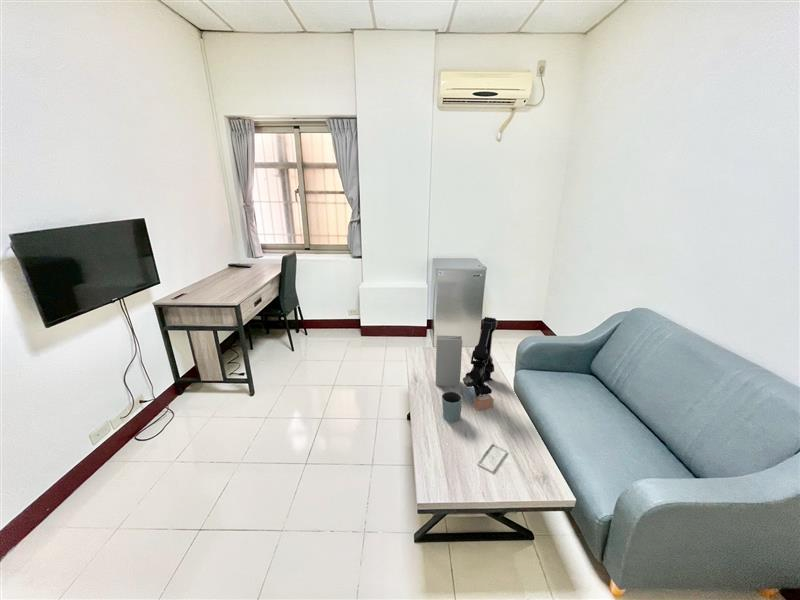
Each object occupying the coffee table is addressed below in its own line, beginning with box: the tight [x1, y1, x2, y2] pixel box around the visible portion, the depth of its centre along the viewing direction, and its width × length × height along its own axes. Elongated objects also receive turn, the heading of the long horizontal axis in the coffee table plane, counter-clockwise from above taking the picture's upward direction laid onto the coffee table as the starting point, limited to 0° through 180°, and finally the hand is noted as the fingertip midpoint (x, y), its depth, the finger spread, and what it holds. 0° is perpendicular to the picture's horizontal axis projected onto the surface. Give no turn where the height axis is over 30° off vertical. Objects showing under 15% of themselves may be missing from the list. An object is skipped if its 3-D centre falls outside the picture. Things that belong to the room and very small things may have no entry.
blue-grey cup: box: [441, 390, 463, 423], centre depth 167 cm, size 10×10×12 cm
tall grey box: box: [435, 334, 463, 387], centre depth 193 cm, size 14×6×30 cm, turn 84°
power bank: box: [476, 442, 508, 474], centre depth 142 cm, size 7×1×15 cm
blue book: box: [460, 386, 482, 405], centre depth 185 cm, size 14×9×1 cm, turn 16°
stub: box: [472, 394, 495, 411], centre depth 176 cm, size 5×9×5 cm, turn 106°
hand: (477, 396), depth 182 cm, fingers closed
